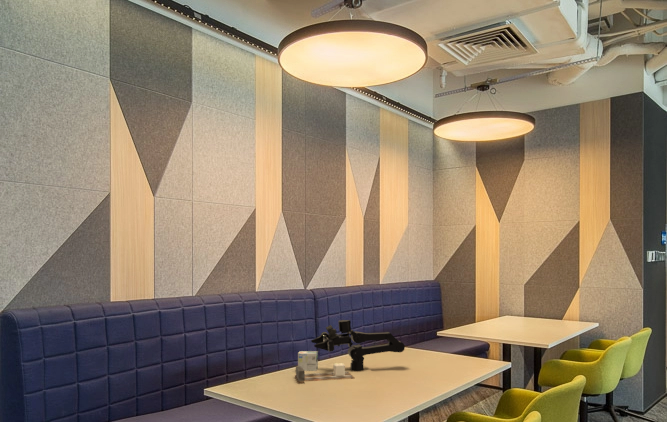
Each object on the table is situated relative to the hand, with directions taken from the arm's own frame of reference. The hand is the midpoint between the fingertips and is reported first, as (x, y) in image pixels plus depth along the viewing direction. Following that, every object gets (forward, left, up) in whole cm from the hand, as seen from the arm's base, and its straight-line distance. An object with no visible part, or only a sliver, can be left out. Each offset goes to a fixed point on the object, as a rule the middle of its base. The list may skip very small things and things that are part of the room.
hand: (312, 343), depth 286 cm
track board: (-4, +12, -17) cm, 21 cm away
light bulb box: (+2, -7, -17) cm, 18 cm away
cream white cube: (-12, +12, -16) cm, 23 cm away
